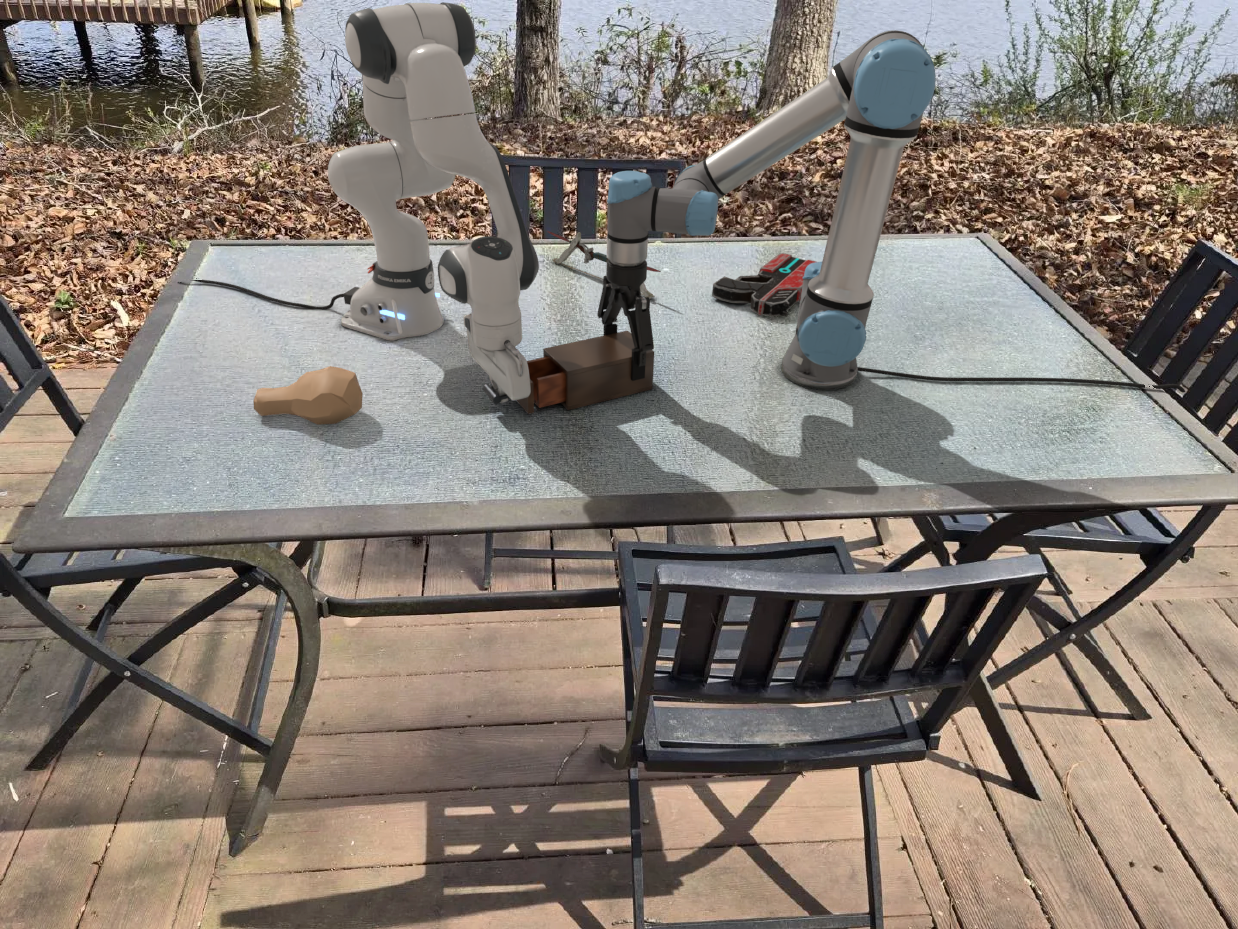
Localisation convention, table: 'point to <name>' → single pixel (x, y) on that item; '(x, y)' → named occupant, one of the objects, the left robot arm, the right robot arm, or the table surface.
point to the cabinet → (599, 369)
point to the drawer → (538, 386)
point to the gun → (766, 286)
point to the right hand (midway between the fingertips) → (623, 366)
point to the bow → (591, 257)
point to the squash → (314, 397)
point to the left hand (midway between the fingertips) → (500, 398)
